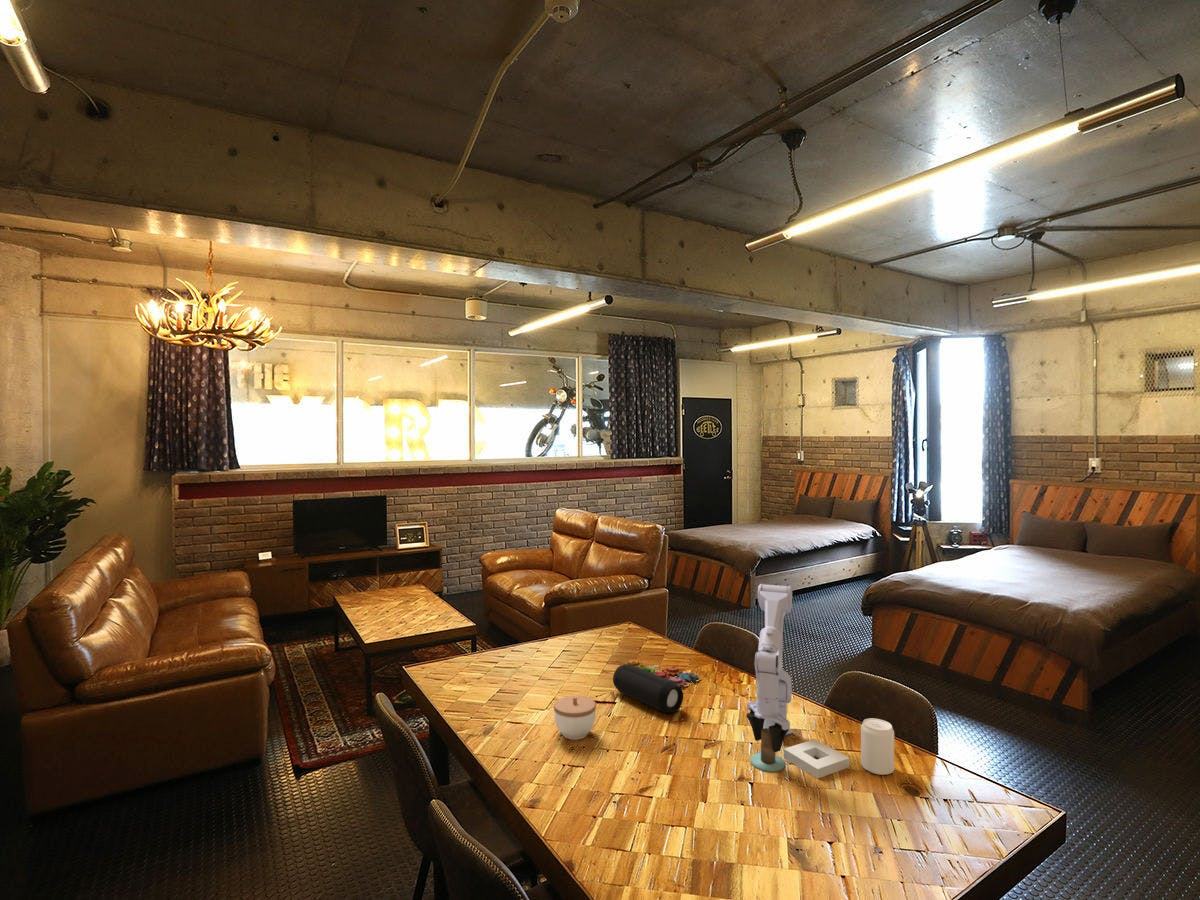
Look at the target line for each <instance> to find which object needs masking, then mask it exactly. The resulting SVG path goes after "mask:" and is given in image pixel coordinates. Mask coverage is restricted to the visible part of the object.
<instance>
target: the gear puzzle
mask: <svg viewBox="0 0 1200 900" xmlns="http://www.w3.org/2000/svg"><path fill="white" fill-rule="evenodd" d="M626 664H630V665H633V666H635V667H638V668H640V669H643V670H645V671H648V672H650V673H653V674H655V675H658V676H660V677H663V678H665V679H668V680H670V681H673V682H675V683H676V684H677V685H678V686H679V687H681V688H685V687H684V685H688V684H687V683H692V682H691V681H693V682H694V683H695V682H697V681H696V680H699V678H700V677H699V675H698V674H694V672H693V671H689V672H688V671H687V672H683V669H680V668H679V667H677V666H673V665H671V666H667V668H665V669H663V670H662V669H661V670H662V672H660V670H658V669H657V670H656V672H655V669H656V668H655V667H658V666H659V664H657V665H656V664H654V666H653V665H651V664H649V665H647V666H645V665H644V663H643V662H642V661H641V662H640V661H639V660H637V659H633V658H632V659H629V660H626V662H623V664H622V665H626ZM650 665H651V666H650ZM647 667H648V668H647ZM654 668H655V669H654ZM661 668H662V667H661ZM670 676H671V678H670ZM675 676H677V677H675ZM686 682H687V683H686Z"/></svg>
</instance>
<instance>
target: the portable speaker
mask: <svg viewBox="0 0 1200 900" xmlns="http://www.w3.org/2000/svg"><path fill="white" fill-rule="evenodd" d="M612 682H613V685H614V687H615V688H616V690H617V691H618V692H619V693H621V694H624V695H625V696H628V697H630V698H632V699H635V700H636V701H639V702H641V703H643V704H646V705H648V706H649V707H652V708H654V709H656V710H658V711H660V712H662V713H666V714H668V713H669V714H670V713H676V712H678V711H679V709H680V708H681V707H682V704H683V700H684V691H683V688H682V687H681V688H682V689H681V688H680V687H679V686H678V685H677V684H676V683H675V682H673V681H670V680H668V679H665V678H663V677H660V676H658V675H655V674H653V673H650V672H648V671H645V670H643V669H640V668H638V667H635V666H633V665H630V664H626V665H623V664H621V665H619V666H618V667H617V668H616V669H615V671H614V673H613V675H612Z"/></svg>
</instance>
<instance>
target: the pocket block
mask: <svg viewBox="0 0 1200 900" xmlns="http://www.w3.org/2000/svg"><path fill="white" fill-rule="evenodd" d="M815 757H816V758H818V759H816V758H815ZM783 758H784V759H785V760H787V761H788V762H790V763H792V764H793V765H795V766H796V767H798V768H799V769H801V770H803V771H805V772H806V773H808V774H809V775H811V776H813V777H814V778H816V779H818V780H819V779H821V778H823V777H826V776H828V775H829V776H830V775H833V774H835V773H837V772H840V771H842V770H846V769H848V768H850V757H849V756H847V755H845V754H843V753H841V752H839V751H838V750H836V749H834V748H832V747H830V746H828V745H827V744H825V743H823V742H821V741H819V740H818V739H815V738H814V739H810V740H807V741H804V742H801V743H798V744H794V745H792V746H789V747H785V748H783Z"/></svg>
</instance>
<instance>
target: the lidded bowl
mask: <svg viewBox="0 0 1200 900" xmlns="http://www.w3.org/2000/svg"><path fill="white" fill-rule="evenodd" d="M596 708H597V704H596V701H595V700H594V699H593V698H592V697H588V696H584V695H577V694H576V695H567V696H562V697H560V698H558V699H557V700H555V702H554V703H553V710H554V711H553V712H554V721H555V726H556V727H557V729H558V731H559V732H560V733H561V734H562V736H563V738H565V739H567V740H568V739H569V740H573V741H575V740H581V739H584V738H585V737H587V734H589V732H591V730H592V728H593V727H594V724H595V720H596Z"/></svg>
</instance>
